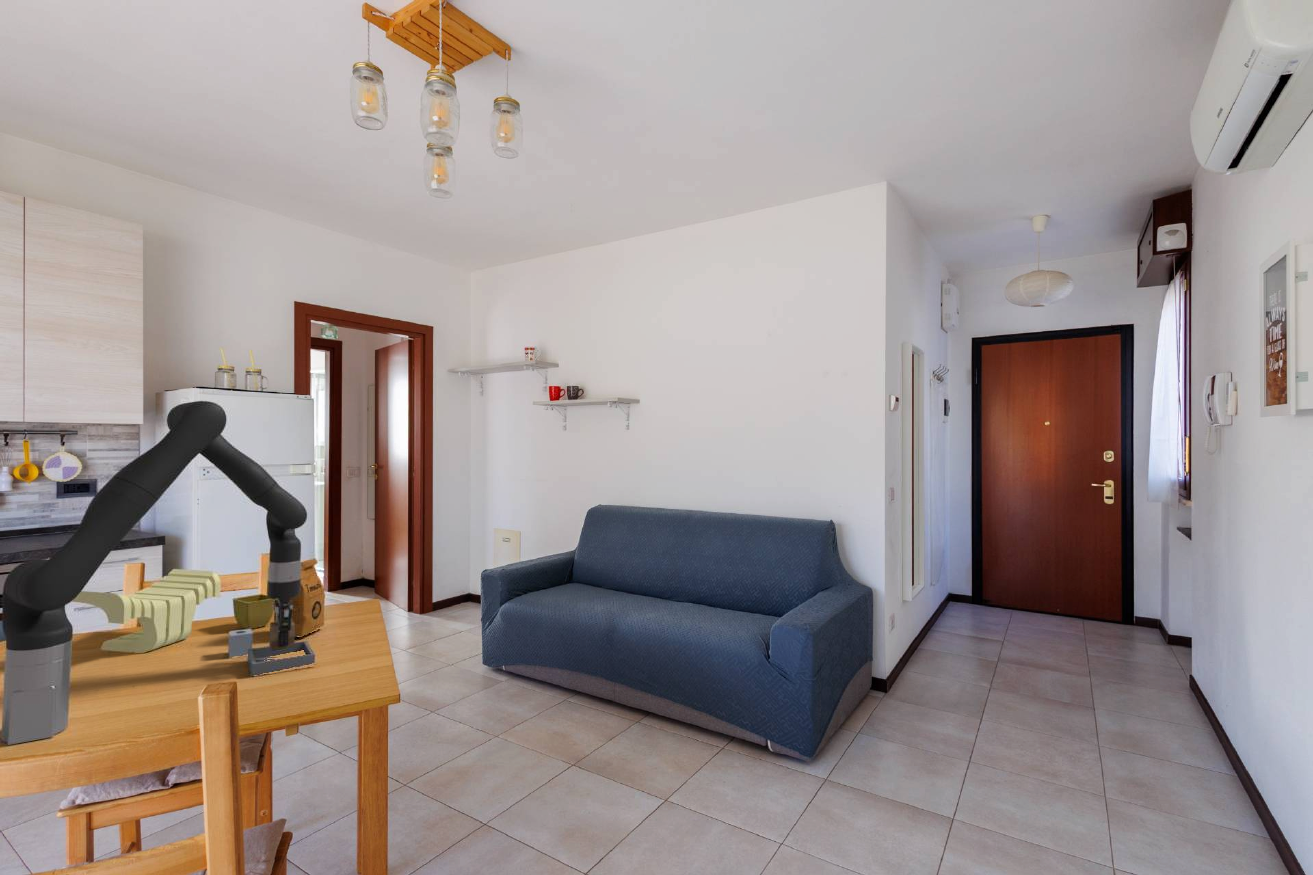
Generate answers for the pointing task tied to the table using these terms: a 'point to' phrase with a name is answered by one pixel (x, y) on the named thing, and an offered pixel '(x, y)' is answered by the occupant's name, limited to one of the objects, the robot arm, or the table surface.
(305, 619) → the coffee package
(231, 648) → the slate block
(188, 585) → the slatted curved stool
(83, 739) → the table surface
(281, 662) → the tray
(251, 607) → the flower pot
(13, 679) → the robot arm
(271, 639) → the walnut block
